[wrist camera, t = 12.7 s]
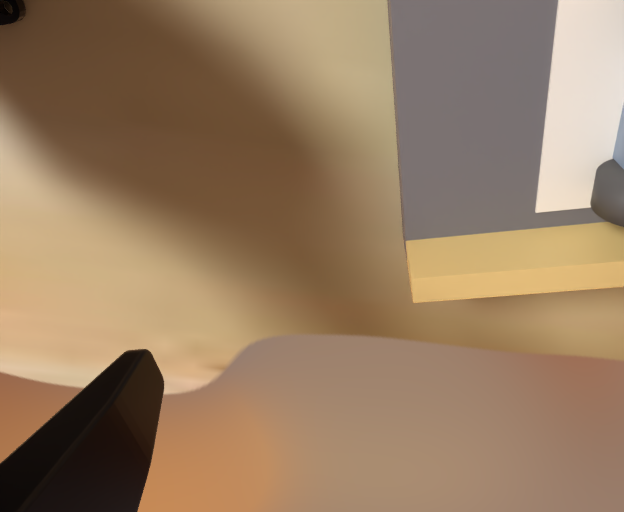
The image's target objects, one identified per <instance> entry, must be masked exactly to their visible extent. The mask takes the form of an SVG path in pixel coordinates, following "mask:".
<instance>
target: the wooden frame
mask: <svg viewBox="0 0 624 512" xmlns="http://www.w3.org/2000/svg"><path fill="white" fill-rule="evenodd" d="M388 15H389V30H390V45H391V60H392V75H393V90H394V105H395V119H396V134H397V149H398V164H399V179H400V194H401V209H402V224H403V238H404V245H405V252H406V259H407V266H408V272H409V279H410V286H411V293H412V300H413V303H420V302H433V301H446V300H459V299H472V298H485V297H498V296H511V295H524V294H537V293H550V292H563V291H575V290H588V289H601V288H614V287H624V227H621V226H618V225H615V224H612V223H610V222H608V221H606V220H604V219H602V218H601V217H599V216H598V215H597V214H595V212H594V211H593V210H592V208H591V205H590V201H591V196H592V190H593V185H594V180H595V174H596V170H597V168H598V167H599V166H600V165H601V164H602V163H604V162H606V161H608V160H610V159H613V158H612V157H613V152H614V147H615V142H616V137H617V132H618V127H619V123H620V118H621V113H622V108H623V103H624V0H388Z"/></svg>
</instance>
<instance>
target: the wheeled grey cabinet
mask: <svg viewBox="0 0 624 512" xmlns="http://www.w3.org/2000/svg"><path fill="white" fill-rule="evenodd" d="M612 158H613V159H610V160H608V161H606V162H604V163H602V164H601V165H600V166H599V167H598V168H597V170H596V174H595V180H594V185H593V190H592V196H591V201H590V205H591V208H592V210H593V211H594V212H595V214H597V215H598V216H599V217H601V218H602V219H604V220H606V221H608V222H610V223H612V224H615V225H618V226H621V227H624V103H623V108H622V113H621V118H620V123H619V127H618V132H617V137H616V142H615V147H614V152H613V157H612Z"/></svg>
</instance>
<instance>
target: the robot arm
mask: <svg viewBox="0 0 624 512" xmlns="http://www.w3.org/2000/svg"><path fill="white" fill-rule="evenodd" d="M4 1H7V2H8V3H9V4H10V5H11V6H12V10H13V12H12V13H10V12H8V11H7V10H6V8H5V6H4ZM25 11H26V9H25V6H24V3H23V0H0V25H6V24H11V23H14V22H17V21H19V20H21V19H23V17H24V16H25ZM163 392H164V380H163V376H162V374H161V372H160V370H159V368H158V366H157V364H156V362H155V360H154V358H153V356H152V354H151V352H150V351H149V350H147V349H138V350H128V351H126V352H124V353H123V354H122V355H121V356H120V357H119V358H117V359H116V360H115V361H114V362H113V363H112V364H111V365H110V366H109V367H107V368H106V369H105V370H104V371H103V372H102V373H101V374H100V375H98V376H97V377H96V378H95V379H94V380H93V381H92V382H91V383H90V384H88V385H87V386H86V387H85V388H84V389H83V390H82V391H81V392H79V393H78V394H77V395H76V396H75V397H74V398H73V399H72V400H71V401H69V402H68V403H67V404H66V405H65V406H64V407H63V408H62V409H60V411H58V412H57V413H56V414H55V415H54V416H53V417H52V418H50V420H48V421H47V422H46V423H45V424H44V425H43V426H42V427H40V428H39V429H38V430H37V431H36V432H35V433H34V434H33V435H31V436H30V437H29V438H28V439H27V440H26V441H25V442H24V443H23V444H21V445H20V446H19V447H18V448H17V449H16V450H15V451H14V452H13V453H11V454H10V455H9V456H8V457H7V458H6V459H5V460H4V461H2V462H1V463H0V512H137V511H138V507H139V504H140V500H141V497H142V493H143V490H144V486H145V483H146V479H147V476H148V472H149V468H150V464H151V459H152V454H153V449H154V444H155V438H156V432H157V426H158V421H159V414H160V409H161V403H162V398H163Z"/></svg>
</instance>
